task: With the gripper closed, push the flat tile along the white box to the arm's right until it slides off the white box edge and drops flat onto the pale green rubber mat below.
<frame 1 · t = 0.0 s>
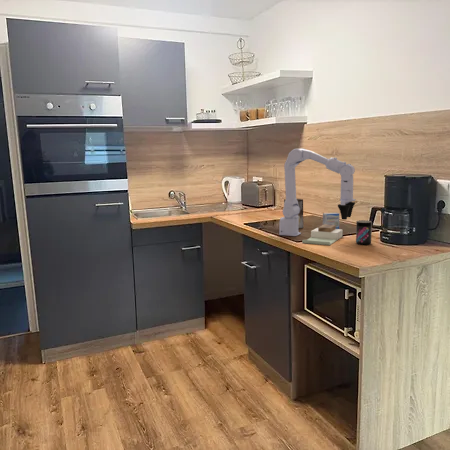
hand: (346, 218, 201), 10 cm above the worktop, tool pointing down, fingers open, 7 cm apart
tile: (327, 230, 207), point 3 cm above the worktop, touching white box
coffee box: (293, 227, 236), on the worktop
supplement container: (363, 244, 191), on the worktop
mat: (319, 241, 198), on the worktop
medicine box: (330, 229, 229), on the worktop
white box: (326, 237, 208), on the worktop
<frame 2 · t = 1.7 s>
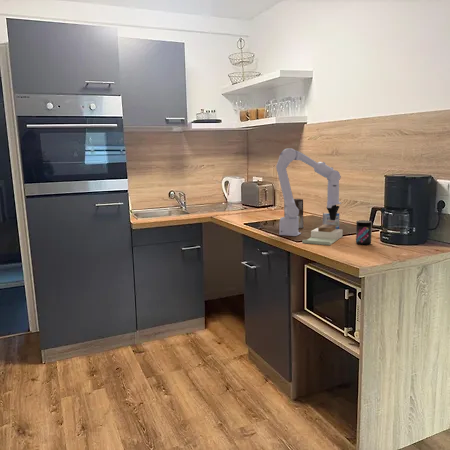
hand: (332, 220, 215), 7 cm above the worktop, tool pointing down, fingers closed
nothing on the worktop moved.
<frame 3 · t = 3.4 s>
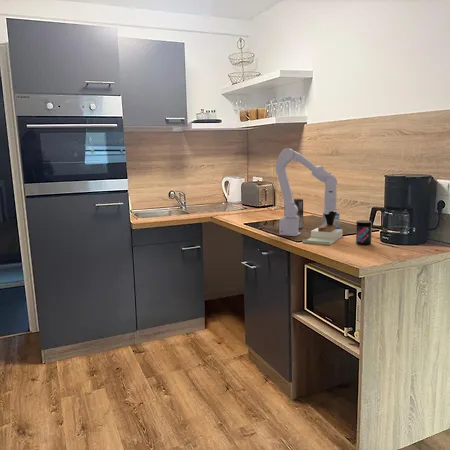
hand: (330, 226, 212), 4 cm above the worktop, tool pointing down, fingers closed
tile: (326, 230, 207), point 4 cm above the worktop, touching gripper
everything else where it was.
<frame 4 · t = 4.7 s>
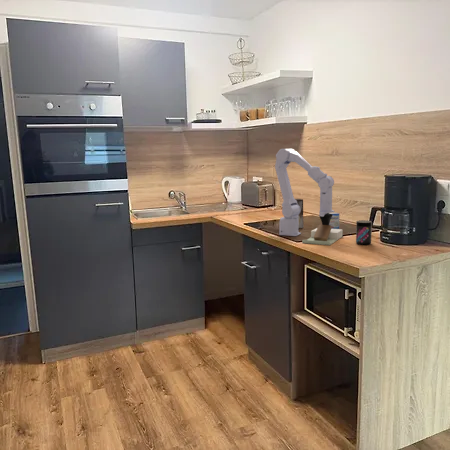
hand: (325, 228, 205), 5 cm above the worktop, tool pointing down, fingers closed
tile: (323, 234, 201), point 3 cm above the worktop, tilted 32°, touching gripper
everything else where it was.
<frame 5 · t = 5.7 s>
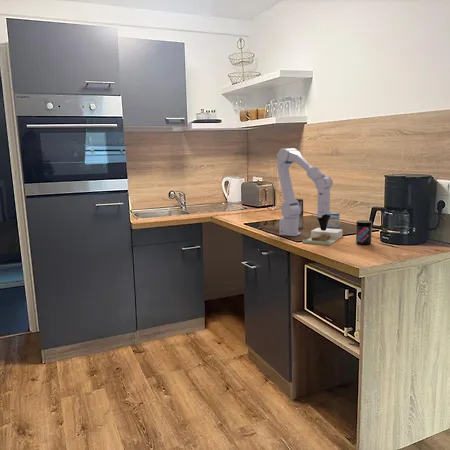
hand: (323, 230, 202), 5 cm above the worktop, tool pointing down, fingers closed
tile: (320, 240, 199), resting on mat
everything else where it was.
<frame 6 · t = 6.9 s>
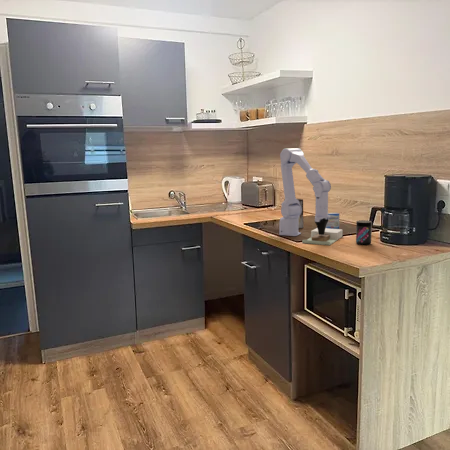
hand: (321, 234, 200), 3 cm above the worktop, tool pointing down, fingers closed
nothing on the worktop moved.
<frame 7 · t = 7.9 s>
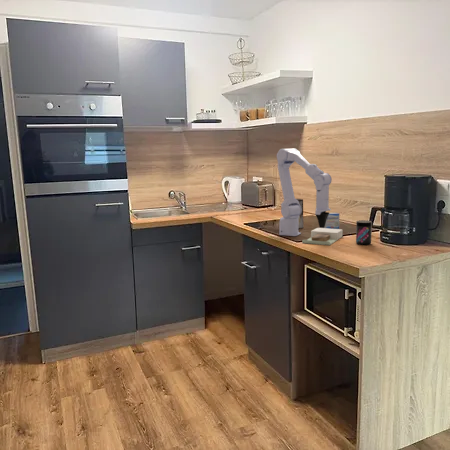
hand: (322, 227, 200), 6 cm above the worktop, tool pointing down, fingers closed
nothing on the worktop moved.
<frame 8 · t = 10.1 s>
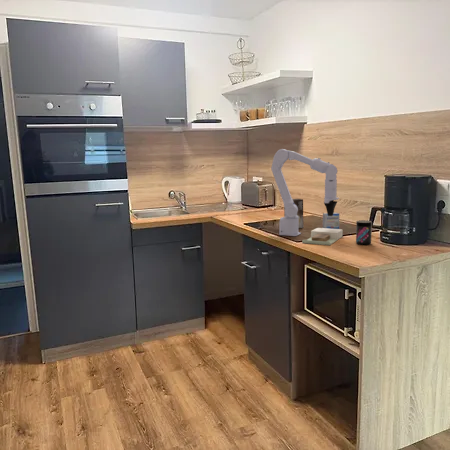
hand: (330, 215, 211), 10 cm above the worktop, tool pointing down, fingers closed
nothing on the worktop moved.
at the end: tile inside the target area (1.7 cm from its centre), resting on mat; tile resting on mat; tile tilted 0° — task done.
